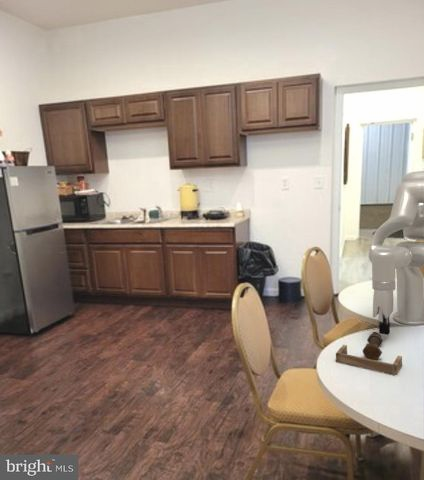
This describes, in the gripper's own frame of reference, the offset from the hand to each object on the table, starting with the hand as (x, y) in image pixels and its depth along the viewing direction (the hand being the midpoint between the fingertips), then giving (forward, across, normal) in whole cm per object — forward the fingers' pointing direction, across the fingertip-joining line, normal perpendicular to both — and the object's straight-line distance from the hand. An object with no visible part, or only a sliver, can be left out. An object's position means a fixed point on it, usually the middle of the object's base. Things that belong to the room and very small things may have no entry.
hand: (384, 333), depth 136 cm
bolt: (+3, +10, -1) cm, 10 cm away
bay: (+3, +20, 0) cm, 20 cm away
